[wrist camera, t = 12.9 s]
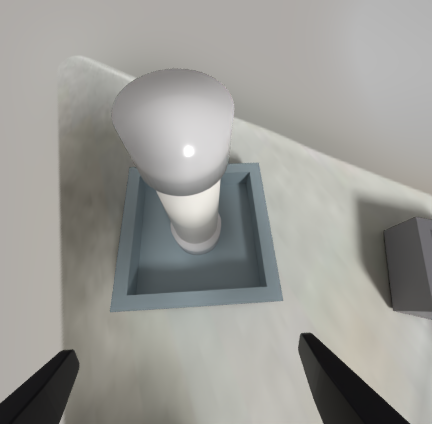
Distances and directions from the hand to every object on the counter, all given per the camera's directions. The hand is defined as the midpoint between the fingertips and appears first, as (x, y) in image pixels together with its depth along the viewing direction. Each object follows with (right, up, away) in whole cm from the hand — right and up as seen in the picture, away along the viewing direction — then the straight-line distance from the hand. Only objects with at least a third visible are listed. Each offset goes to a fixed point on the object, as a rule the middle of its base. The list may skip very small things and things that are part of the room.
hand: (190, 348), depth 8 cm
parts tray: (-1, +3, +11) cm, 12 cm away
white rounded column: (-1, +4, +10) cm, 11 cm away
